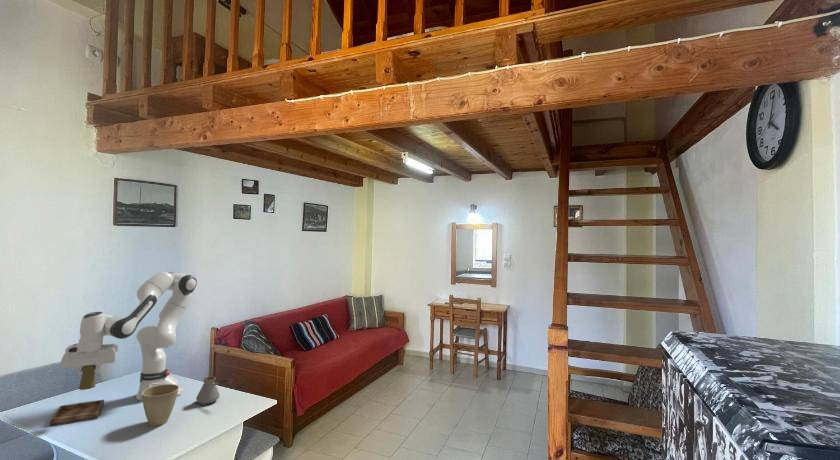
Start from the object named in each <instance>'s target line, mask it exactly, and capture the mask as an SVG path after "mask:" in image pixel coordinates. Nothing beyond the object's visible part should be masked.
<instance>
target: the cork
mask: <svg viewBox="0 0 840 460" xmlns="http://www.w3.org/2000/svg"><path fill="white" fill-rule="evenodd" d="M95 369H97V366H96V365H88V366H81V371H82V372H83V375H81V379H80V382H79V385H78V390H80V391H84V390H90V389H93V388H96V377H95V374H94V370H95Z"/></svg>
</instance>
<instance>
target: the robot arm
mask: <svg viewBox="0 0 840 460" xmlns="http://www.w3.org/2000/svg"><path fill="white" fill-rule="evenodd" d="M197 284H198V280H197V278H196V277H194V275H191V274H186V273H182V272H175V271H174V272H172V271H171V272H167V271H160V272H157V273H156V274H155V275H152V277H151V276H150V278H149V279H148V280H146V281H145V282H144V283H143V284H142V285H140V287H138V289H137V290H136V297H137V299H138V300H139V303H138V305H137V306H136V307H135V308H134V309H133V310H132V311H131V312H130V313H129V314H128V315H127V316H124V317H121V316H116V315H110V314H106V313H105V312H103V311H92V312H89V313H87V314H85V315H84V316H83V317H82V318H81V320H80V327H79V334H80V336H79V340H78V342H77V343H74V344H71V345H68V346H67V347H66V348H65V350H64V351H65V352H64V354H63V355H62V357H61V360H60V365H59V366H60V368H61V369H69V368H75V370H76V371H77V373H78V376H79V377H80V376H82V375H83V372H82V369H81V368H82V367H83V366H88V365H97V366H96V369H95V370H94V375H95V374H99V370H100V369H101V367H102V365H105V364H112V363H115V362H116V361H117V351H118V350H119V349H118V348H119V347H118V345H117V344H116V343H110V344H109V343H107V344H106V343H105V344H104V343H103V342H104V337H105V336H108V337H113V338H116V339H119V340H121V339H122V340H123V339H124V340H125V339H127V338H129V337H131V336H132V335H133V334H134V333H135V332H136V330H137V328H138V326H139V325H140V323H141V322H142V321H143V320H144V318H145V317H146V316H147V315H148V314H149V313H150V312H151V311H152V309H153V308H154V307H155V306H156V304H157V302H158V300H159V298H160V297H161V296H162V295H164V294H165V293H166V292H167V291H168V290H169V291H171V292H172V295H171V296H170V298H169V299H168V300H167V302H166V303H165V304H164V306H163V307H162V309H161V311H160V312H159V314H158V317H159V320H158V323H157V326H156V325H154V326H153V325H148V326H143V327H141V328H140V329H138V331H137V334H136V340H137V341H138V343H139V347H140V352H141V357H142V364H141V372H140V375H139V383H140V384H139V388H138V391H137V394H136V396H135V399H136V400H137V401H142V402H143V399H142V392H143V391H144V390H146V389H148V388H150V387H153V386H158V385H164V384H174V385H177V386H179V389H178V393H177V397H178V396H181V395H182V394H183V393H184V388H183V386H181V385H180V382H179V379H177V378H175V377H174V376H171V375H170V374H171V371H170V369H169V368H166V365H167V364H166V363H167V355H166V353H165V351H164V349H168V348H170V347H172V346H174V344H175V343H176V342H177V332H176V331H177V327H178V325H179V322H180V320H181V318H182V317H183V315H184V314H185V312H186V310H187V308H188V307H189V305H190V302H191V300H192V297H193V293H194V291H195V289H196V287H197Z"/></svg>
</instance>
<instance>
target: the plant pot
mask: <svg viewBox="0 0 840 460" xmlns="http://www.w3.org/2000/svg"><path fill="white" fill-rule="evenodd" d="M179 386H180V385H179ZM179 386H177V385H174V384H164V385H158V386H153V387H150V388H148V389H146V390H144V391H143V392H142V399H143V401H142V405H143V410H144V414H145V417H146V421H147V423H148V425H149V426H151V427H158V426H161V425H164V424H166V423H167V422H168V420H169V419H170V416H171V413H172V412H173V409H174V407H175V405H176V400H177V397H178V396H177V393H178V389H179Z"/></svg>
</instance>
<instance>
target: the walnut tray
mask: <svg viewBox="0 0 840 460" xmlns="http://www.w3.org/2000/svg"><path fill="white" fill-rule="evenodd" d="M104 405H105V399H100V400H99V399H98V400H93V401H92V400H91V401H85V402H79V403H72V404H65V405H60V406H59V407H58V408H57V410H56V412H54V414H53V415H52V416H51V419H50V420H49V427H54V426H60V425H66V424H73V423H78V422H84V421H90V420H96V419H98V418H99V415H100V413H101V412H102V409H103V408H104Z"/></svg>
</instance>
